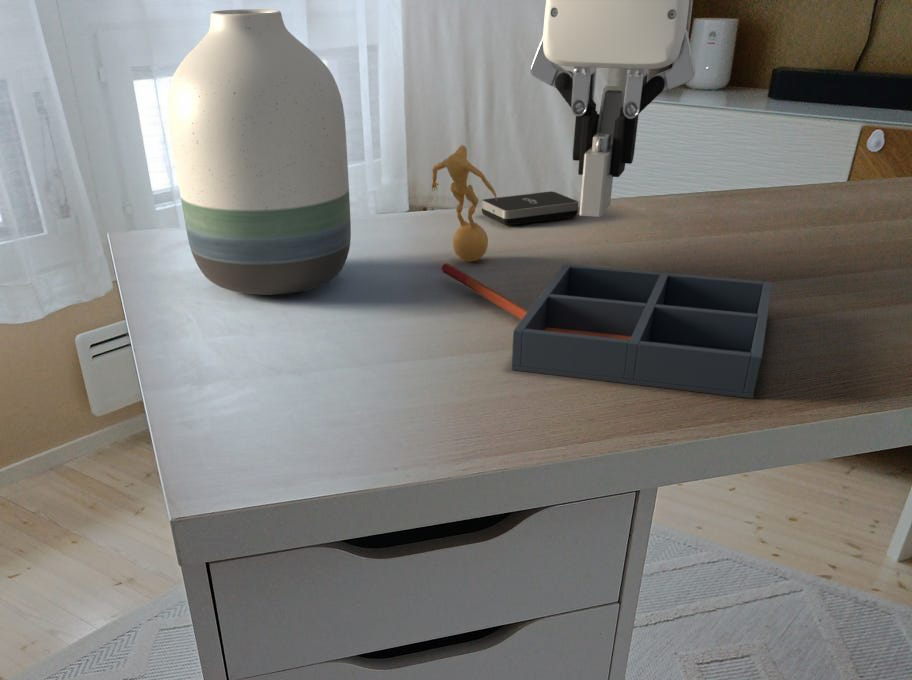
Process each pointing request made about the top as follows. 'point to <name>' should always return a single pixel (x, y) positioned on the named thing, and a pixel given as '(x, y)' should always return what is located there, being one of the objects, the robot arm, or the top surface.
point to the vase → (260, 157)
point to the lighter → (601, 156)
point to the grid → (647, 330)
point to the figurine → (468, 236)
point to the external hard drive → (530, 208)
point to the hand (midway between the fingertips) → (601, 170)
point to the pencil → (485, 291)
